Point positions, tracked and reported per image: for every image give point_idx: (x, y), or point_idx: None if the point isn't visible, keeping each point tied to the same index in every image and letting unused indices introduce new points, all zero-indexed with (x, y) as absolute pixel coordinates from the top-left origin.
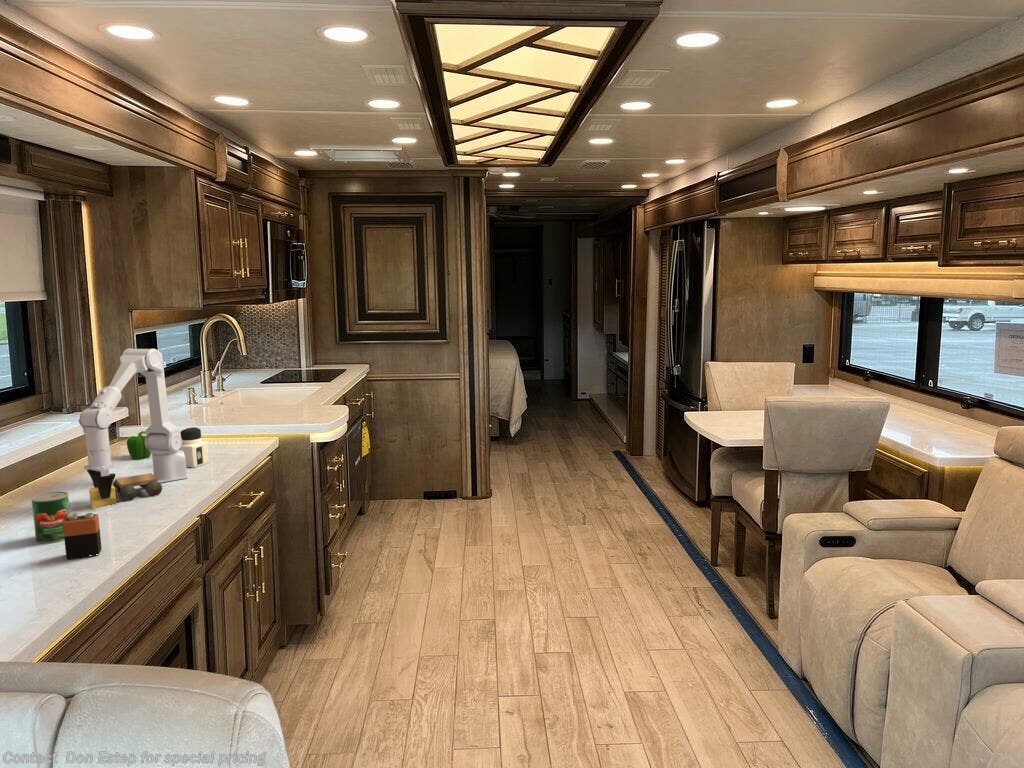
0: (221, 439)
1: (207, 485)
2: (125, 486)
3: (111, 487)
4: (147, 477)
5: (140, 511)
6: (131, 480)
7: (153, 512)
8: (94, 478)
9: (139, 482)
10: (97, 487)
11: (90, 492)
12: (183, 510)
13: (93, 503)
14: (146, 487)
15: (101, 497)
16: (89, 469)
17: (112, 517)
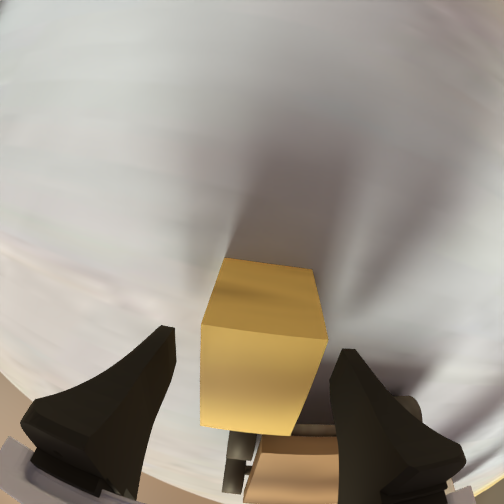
0: (486, 488)
1: (232, 498)
2: (234, 450)
3: (225, 421)
4: (290, 498)
5: (60, 355)
6: (299, 477)
7: (39, 365)
8: (27, 411)
9: (250, 479)
10: (307, 383)
11: (260, 320)
12: None
13: (219, 277)
14: (228, 466)
15: (155, 331)
16: (452, 471)
17: (29, 269)
